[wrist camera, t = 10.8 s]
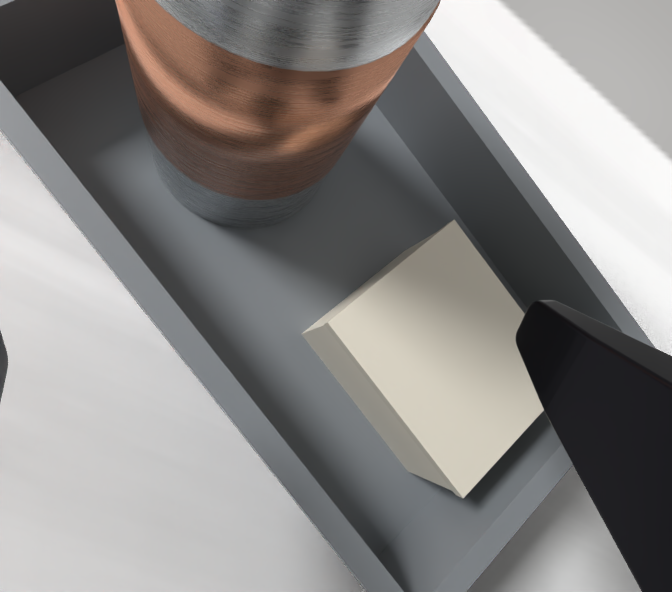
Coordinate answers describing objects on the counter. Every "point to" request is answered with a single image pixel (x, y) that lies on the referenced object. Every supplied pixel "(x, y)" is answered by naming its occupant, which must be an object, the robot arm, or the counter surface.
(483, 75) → the counter surface
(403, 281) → the cream smooth square block
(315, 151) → the steel tin
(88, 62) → the grey rectangular tray
